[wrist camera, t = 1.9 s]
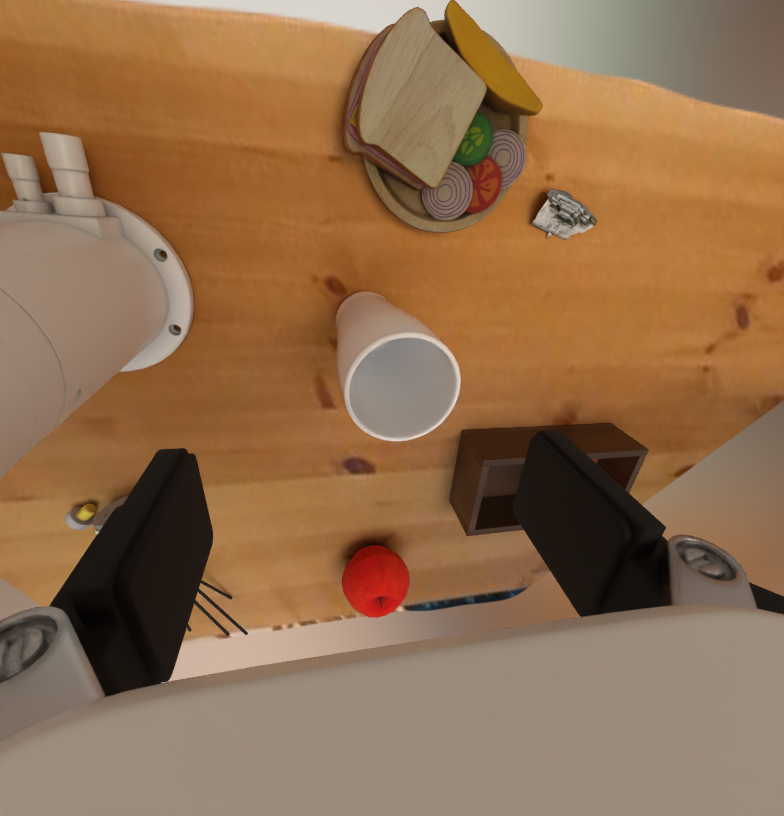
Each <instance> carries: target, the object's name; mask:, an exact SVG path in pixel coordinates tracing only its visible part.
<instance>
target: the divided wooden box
mask: <svg viewBox="0 0 784 816" xmlns="http://www.w3.org/2000/svg"><path fill="white" fill-rule="evenodd" d="M544 430H559V431H561V432H562V433H563V434H564V435H566V436H567V437H568V438H569V439H570V440H571V441H572V442H573V443H574V444H575V445H576V446H578V447H579V448H580V449H581V450H582V451H583V452H584V453H585V454H586V455H587V456H589V457H590V458H591V459H592V460H593V461H594V462H595V463H596V464H597V465H598V466H600V467H601V468H602V469H603V470H604V471H605V472H606V473H607V474H608V475H609V476H610V477H612V478H613V479H614V480H615V481H616V482H617V483H618V484H619V485H620V486H621V487H623V488H624V489H625V490H626V491H627V492H628V493H629V492H630V490H631V488H632V485H633V483H634V481H635V479H636V477H637V475H638V472H639V470H640V468H641V466H642V464H643V462H644V459H645V457H646V455H647V453H648V451H649V449H647V448H646V447H644V446H643V445H642V444H640V443H639V442H637V441H636V440H634V439H633V438H632V437H630V436H629V435H627V434H626V433H624V432H623V431H622V430H620V429H619V428H617V427H616V426H614V425H613V424H612V423H605V424H583V425H562V426H540V427H519V428H497V429H476V430H462V434H461V439H460V445H459V450H458V456H457V461H456V466H455V472H454V477H453V483H452V488H451V493H450V499H449V501H450V503H451V505H452V507H453V509H454V511H455V513H456V515H457V517H458V519H459V521H460V523H461V525H462V527H463V529H464V531H465V533H466V535H467V536H472V535H481V534H490V533H499V532H508V531H517V530H524V529H523V528H522V526H521V524H520V523H519V521H518V520H517V518H516V516H515V514H514V510H513V505H514V500H515V497H516V493H517V489H518V485H519V481H520V478H521V474H522V470H523V466H524V463H525V459H526V455H527V451H528V447H529V444H530V440H531V438H532V437H533V436H535V435H536V433H537V432H538V431H544Z"/></svg>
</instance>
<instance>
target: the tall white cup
mask: <svg viewBox="0 0 784 816" xmlns="http://www.w3.org/2000/svg"><path fill="white" fill-rule="evenodd" d="M336 330H337V373H338V379H339V385H340V389H341V392H342V396H343V399H344V402H345V405H346V408H347V411H348V413H349V415H350V417H351V418H352V420H353V421H354V422H355V424H356V425H357V426H358V427H359V428H360V429H362V430H363V431H364V432H366V433H367V434H369V435H371V436H373V437H376V438H378V439H382V440H387V441H406V440H411V439H415V438H418V437H420V436H423V435H425V434H427V433H428V432H430V431H432V430H433V429H435V428H436V427H437V426H439V425H440V424H441V423H442V422H443V421H444V420H445V419H446V418H447V416H448V415H449V414H450V412H451V411H452V409H453V407H454V405H455V403H456V401H457V398H458V395H459V391H460V380H461V379H460V371H459V367H458V364H457V361H456V359H455V357H454V356H453V354H452V353H451V351H450V350H449V349H448V348H447V346H446V345H445V344H444V343H443V342H442V340H441V339H440V338H439V337H438V336H437V335H436V334H435V333H434V332H433V331H432V330H431V329H430V328H429V327H427V326H426V325H425V324H424V323H423V322H421V321H420V320H418V319H417V318H415V317H414V316H412V315H411V314H409V313H407V312H405V311H404V310H402V309H400V308H399V307H397V306H395V305H394V304H392V303H390V302H389V301H388V300H387V299H386V298H385V297H383V296H382V295H380V294H377V293H375V292H370V291H363V292H358V293H355V294H353V295H351V296H349V297H348V298H347V299H345V300H344V302H343V303H342V304H341V305H340V307H339V309H338V312H337V315H336Z"/></svg>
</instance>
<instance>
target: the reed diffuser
mask: <svg viewBox="0 0 784 816" xmlns="http://www.w3.org/2000/svg"><path fill="white" fill-rule="evenodd" d="M128 496H129V495H126V496H124V497H122V498H120V499H118V500H116V501H114V502H113V503H111V504H110V505H108V506H107V507H105V508H104V509H103V510H101V511H100V512H99V513H98V514H97V515H96V516H95V517H94V513H95V512H96V507H95V506H94V505H92V504H86V505H84V506H83V507H76V508H73V509H72V510H71V511H70V512H69V513H68V514H67V515H66V516H65V522H66V523H67V525H68V526H70V527H71V528H73V529H76V530H83V529H86V528H87V527H88V526H90V525H91V524H92V525H93V526H94V528H95V529H96V531H95V530H94V532H95V533H96V534H98V533H99V531H100V530H101V528H102V527H103V525H104V524H105V522H106V521H107V519H108V518H109V516H110V515H111V513H112V512H113V511H114V510H115V508H116V507H118V506H120V505H123V503H124V502H125V500H126V499H127V497H128ZM200 583H202V584H203V585H205V586H207V587H209V588H211V589H213V590H214V591H216V592H218V593H220V594H222V595H224V596H225V597H227V598H229V599H232V597H231V596H229V595H227V594H225V593H224V592H222V591H220V590H218V589H216V588H215V587H213V586H211V585H209V584H207V583H206V582H204V581H202V580H201V582H200ZM198 592H199V593H200V594H201V595H202V596H203V597H204V598H205V599H206V600H207V601H209V602H210V603H211V604H212V605H213V606H214V607H215V608H216V609H217V610H219V611H220V612H221V613H222V614H223V615H224V616H225V617H226V618H227V619H229V620H230V621H231V622H232V623H233V624H234V625H235V626H236V627H237V628H239V629H240V630H241V631H242V632H243V633H244V634H245V635H247V634H248V633H247V632H246V631H245V630H244V629H243V628H242V627H241V626H240V625H239V624H237V623H236V622H235V621H234V620H233V619H232V618H231V617H230V616H229V615H228V614H226V613H225V612H224V611H223V610H222V609H221V608H220V607H219V606H218V605H216V604H215V603H214V602H213V601H212V600H211V599H210V598H209V597H208V596H207V595H205V594H204V593H203V592H202V591H201V590H200V589H198ZM194 604H195V605H196V606H197V607H198V608H199V609H200V610H202V611H203V612H204V613H205V614H206V615H207V616H208V617H209V618H210V619H211V620H212V621H213V622H214V623H215V624H216V625H217V626H218V627H219V628H220V629H221V630H222V631H223V632H224V633H225V634H226V635H227V636H229V634H230V633H229V632H227V631H226V630H225V629H224V628H223V627H222V626H221V625H220V624H219V623H218V622H217V621H216V620H215V619H214V618H213V617H212V616H211V615H210V614H209V613H208V612H207V611H206V610H205V609H204V608H203V607H202V606H201V605H200V604H199V603H198V602H197V601H196V600H195V602H194ZM187 629H188V631H189V632H190V631H191V628H190V627H189V625H187Z"/></svg>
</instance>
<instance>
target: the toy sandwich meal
mask: <svg viewBox="0 0 784 816" xmlns="http://www.w3.org/2000/svg"><path fill="white" fill-rule="evenodd" d="M542 107H543V105H542V103H541V101H540V100H539V98H538V97H537V96H536V95H535V93H534V92H533V91H532V89H531V88H530V87H529V85H528V84H527V83H526V81H525V80H524V79H523V77H522V76H521V75H520V74H519V72H518V71H517V70H516V68H515V66H514V64H513V62H512V60H511V59H510V57H509V56H508V54H507V53H506V51H505V50H504V49H503V47H502V46H501V45H500V44H499V43H498V42H497V41H496V40H495V39H494V38H492V36H490V35H489V34H488V33H486V32H485V31H483V30H481V29H480V27H479V26H478V25H477V24H476V23H475V21H474V20H473V19H472V18H471V17H470V16H469V15H468V14H467V13H466V12H465V11H464V10H463V9H462V8H461V7H460V5H459V4H458V3H457V2H456V1H454V0H451V1H450V2H449V3H448V5H447V7H446V10H445V20H438V21H432V22H429V19H428V17H427V14H426V12H425V11H424V10H423V9H421V8H419V7H416V8H413V9H411V10H409V11H408V12H406V13H405V14H404V15H403V16H402V17H401V18H400V19H399V20H398V21H397V22H396V23H395V24H391V25H389V26H387V27H386V28H385V29H384V30H383V31H381V32H380V33H379V34H378V35H377V36H376V37H375V39H374V40H373V41H372V42H371V44H370V45H369V47H368V48H367V50H366V51H365V53H364V54H363V56H362V58H361V60H360V62H359V64H358V66H357V68H356V71H355V73H354V75H353V78H352V81H351V84H350V87H349V91H348V94H347V98H346V103H345V108H344V114H343V124H342V139H343V145H344V148H345V150H346V152H347V153H349V154H355V155H361V156H363V157H364V162H365V165H366V169H367V172H368V175H369V177H370V180H371V182H372V184H373V186H374V188H375V190H376V192H377V193H378V195H379V196H380V198H381V199H382V201H383V202H384V203H385V205H386V206H387V207H388V208H389V209H390V210H391V211H392V212H393V213H394V214H395V215H396V216H397V217H399V218H400V219H401V220H403V221H404V222H406V223H408V224H409V225H411V226H413V227H416V228H419V229H422V230H425V231H430V232H440V233H441V232H452V231H457V230H461V229H463V228H466V227H468V226H471V225H473V224H475V223H476V222H478V221H480V220H481V219H483V218H484V217H485V216H487V215H488V214H489V213H490V212H491V211H492V210H493V209H494V208H495V207H496V206H497V205H498V204H499V203H500V202H501V200H502V199H503V198H504V196H505V195H506V194H507V192H508V191H509V189H510V187H511V185H512V184H513V183H514V182H515V181H516V180H517V179H518V178H519V177H520V175H521V173H522V171H523V169H524V166H525V163H526V149H525V145H526V138H527V127H528V116H533V115H537V114H538V113H539V112H540V110H541V109H542Z"/></svg>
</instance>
